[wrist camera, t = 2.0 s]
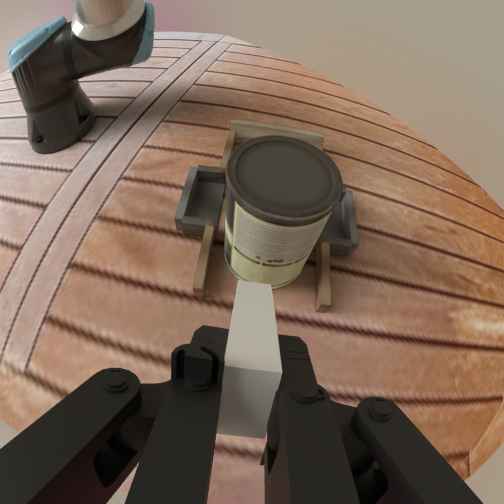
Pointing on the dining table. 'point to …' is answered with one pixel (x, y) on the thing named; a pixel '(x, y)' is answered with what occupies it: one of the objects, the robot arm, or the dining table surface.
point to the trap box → (210, 198)
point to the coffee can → (276, 207)
